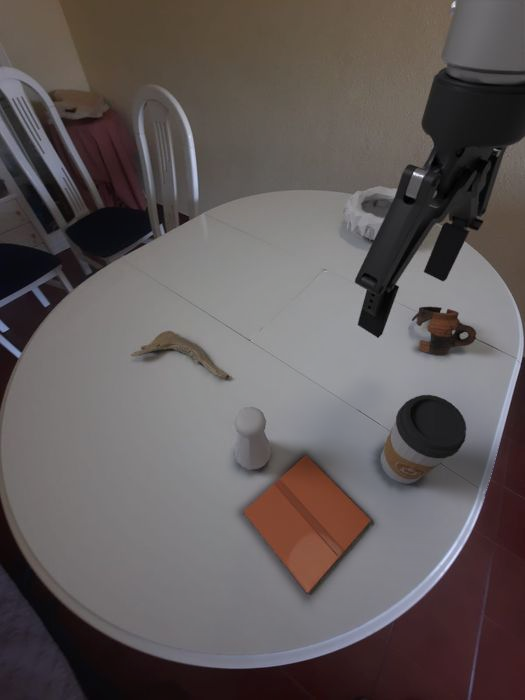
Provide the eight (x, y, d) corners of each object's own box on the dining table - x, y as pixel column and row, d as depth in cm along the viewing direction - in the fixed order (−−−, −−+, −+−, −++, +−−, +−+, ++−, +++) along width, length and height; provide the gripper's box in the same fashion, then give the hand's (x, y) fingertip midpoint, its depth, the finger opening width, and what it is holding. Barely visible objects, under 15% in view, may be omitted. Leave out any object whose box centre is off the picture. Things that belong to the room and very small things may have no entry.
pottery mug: (402, 348, 70) (409, 309, 67) (413, 338, 77) (421, 303, 75) (468, 363, 64) (479, 320, 61) (474, 351, 71) (484, 312, 68)
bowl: (430, 242, 94) (445, 207, 86) (370, 263, 88) (380, 227, 81) (382, 209, 106) (391, 176, 98) (326, 225, 100) (331, 191, 93)
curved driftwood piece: (153, 331, 74) (151, 324, 73) (242, 350, 71) (242, 343, 70) (132, 361, 68) (129, 353, 67) (228, 382, 65) (227, 375, 63)
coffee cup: (369, 479, 53) (396, 437, 41) (378, 433, 58) (404, 383, 46) (425, 500, 51) (471, 461, 39) (429, 450, 56) (471, 402, 44)
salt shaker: (258, 481, 53) (255, 446, 43) (228, 462, 55) (219, 424, 45) (277, 451, 56) (279, 412, 46) (249, 434, 58) (244, 392, 48)
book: (370, 521, 49) (371, 519, 48) (307, 594, 44) (307, 593, 43) (305, 456, 55) (305, 453, 55) (243, 512, 50) (243, 510, 49)
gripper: (513, 39, 31) (431, 245, 47) (336, 97, 20) (308, 337, 36) (611, 48, 27) (485, 269, 43) (457, 125, 16) (366, 379, 33)
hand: (404, 300), depth 40 cm, fingers open, 13 cm apart
